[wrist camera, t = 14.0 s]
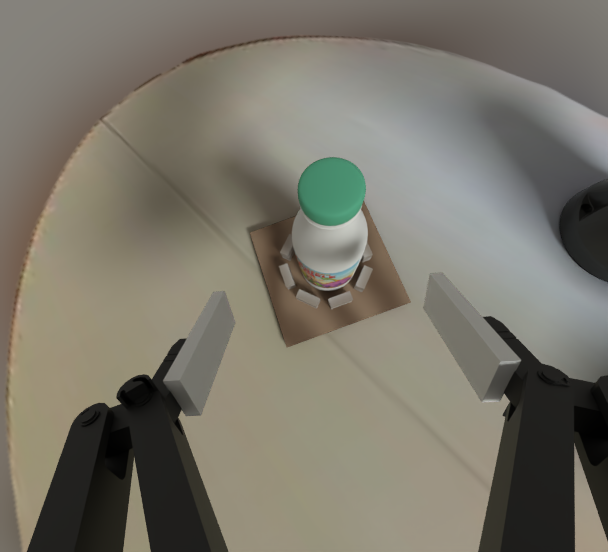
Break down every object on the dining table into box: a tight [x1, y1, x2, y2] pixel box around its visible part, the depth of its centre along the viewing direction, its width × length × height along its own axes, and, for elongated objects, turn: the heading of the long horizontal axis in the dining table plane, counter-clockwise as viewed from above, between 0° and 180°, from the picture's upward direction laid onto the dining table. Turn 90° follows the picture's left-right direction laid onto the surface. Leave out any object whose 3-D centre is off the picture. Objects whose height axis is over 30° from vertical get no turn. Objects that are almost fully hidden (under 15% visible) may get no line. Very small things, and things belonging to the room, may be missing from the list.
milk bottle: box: [292, 157, 368, 291], centre depth 26 cm, size 8×8×20 cm
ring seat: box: [250, 201, 411, 347], centre depth 35 cm, size 18×18×4 cm
